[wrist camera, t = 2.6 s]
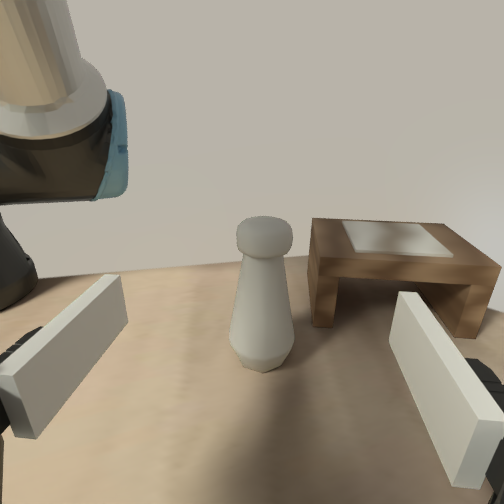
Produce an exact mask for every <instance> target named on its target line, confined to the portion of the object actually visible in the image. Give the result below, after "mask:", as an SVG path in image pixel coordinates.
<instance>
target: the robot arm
mask: <svg viewBox="0 0 504 504" xmlns="http://www.w3.org/2000/svg"><path fill="white" fill-rule="evenodd" d="M127 146H128V145H127V121H126V110H125V103H124V99H123V97H122V95H121V94H120V93H118V92H114V91H112V90H110V89H109V90H107V89H106V85H105V83H104V80H103V78H102V76H101V74H100V73H99V72H98V71H97V69H96V68H95V67H94V66H93V65H91V64H90V63H89V62H87V61H86V60H85V59H83V58H81V55H80V51H79V47H78V43H77V39H76V36H75V32H74V28H73V24H72V20H71V17H70V13H69V9H68V5H67V1H66V0H0V205H12V204H33V203H53V202H73V201H96V200H98V199H104V198H113V197H118V196H120V195H122V194H123V193H124V192H125V190H126V188H127V185H128V150H127ZM37 281H38V277H37V272H36V269H35V266H34V263H33V261H32V259H31V258H30V257H29V255H27V254H26V253H24V251H23V249H22V247H21V246H20V244H19V243H18V241H17V240H16V239H15V237H14V236H13V235H12V233H11V232H10V231H9V229H8V228H7V227H6V226H5V224H4V222H3V219H2V216H1V213H0V310H1V309H4V308H6V307H8V306H9V305H11V304H13V303H15V302H16V301H18V300H20V299H21V298H23V297H24V296H25V295H27V294H28V293H29V292H30V291H31V290H32V289H33V288H34V287H35V285H36V283H37ZM127 323H128V318H127V312H126V306H125V300H124V295H123V289H122V283H121V277H120V275H112V274H105V275H104V276H102V277H101V278H100V279H99V280H98V281H97V282H95V283H94V284H93V285H92V286H91V287H90V288H88V289H87V290H86V291H85V292H84V293H83V294H81V295H80V296H79V297H78V298H77V299H76V300H74V301H73V302H72V303H71V304H70V305H69V306H67V307H66V308H65V309H64V310H63V311H62V312H60V313H59V314H58V315H57V316H56V317H55V318H53V319H52V320H51V321H50V322H49V323H48V324H46V325H45V326H44V327H41V326H40V327H38V328H36V329H34V330H32V331H31V332H29V333H27V334H25V335H24V336H23V337H22V338H20V339H19V340H18V341H17V342H16V343H15V345H12V346H11V347H10V348H8V349H7V350H6V352H4V353H2V354H1V355H0V504H2V480H3V452H4V441H3V437H2V435H1V434H2V433H3V432H4V430H5V429H6V428H7V427H8V426H9V425H10V426H11V428H12V431H13V433H14V436H15V437H19V438H28V439H37V438H38V437H39V435H40V434H41V433H42V431H43V430H44V429H45V428H46V426H47V425H48V424H49V423H50V421H51V420H52V419H53V417H54V416H55V415H56V414H57V412H58V411H59V410H60V409H61V407H62V406H63V405H64V403H65V402H66V401H67V400H68V398H69V397H70V396H71V394H72V393H73V392H74V391H75V389H76V388H77V387H78V386H79V384H80V383H81V382H82V380H83V379H84V378H85V377H86V375H87V374H88V373H89V371H90V370H91V369H92V368H93V366H94V365H95V364H96V363H97V361H98V360H99V359H100V357H101V356H102V355H103V354H104V352H105V351H106V350H107V349H108V347H109V346H110V345H111V343H112V342H113V341H114V340H115V338H116V337H117V336H118V334H119V333H120V332H121V331H122V329H123V328H124V327H125V326H126V324H127ZM389 344H390V346H391V348H392V351H393V353H394V355H395V357H396V360H397V362H398V364H399V367H400V369H401V371H402V373H403V376H404V378H405V380H406V383H407V385H408V387H409V389H410V392H411V394H412V396H413V399H414V401H415V403H416V405H417V408H418V410H419V412H420V415H421V417H422V419H423V421H424V424H425V426H426V428H427V431H428V433H429V435H430V437H431V440H432V442H433V444H434V447H435V449H436V451H437V453H438V456H439V458H440V460H441V463H442V465H443V467H444V469H445V472H446V474H447V476H448V479H449V481H450V483H451V485H452V487H460V488H469V489H478V490H480V488H481V486H482V484H483V481H484V479H485V477H487V479H488V481H489V483H490V484H491V486H492V488H493V490H494V492H493V494H492V496H491V498H490V500H489V502H488V504H504V385H502V384H501V381H500V380H499V379H498V377H497V376H496V375H495V374H494V372H493V371H492V370H491V369H490V368H488V367H487V366H486V365H484V364H483V363H482V362H480V361H479V360H478V359H470V358H464V357H463V356H462V354H461V353H460V352H459V350H458V349H457V347H456V346H455V345H454V343H453V342H452V341H451V339H450V338H449V336H448V335H447V334H446V332H445V331H444V329H443V328H442V327H441V325H440V324H439V322H438V321H437V320H436V318H435V317H434V316H433V314H432V313H431V311H430V310H429V309H428V307H427V306H426V304H425V303H424V302H423V300H422V299H421V297H420V296H419V295H418V293H417V292H402V291H399V294H398V299H397V303H396V308H395V313H394V317H393V322H392V327H391V331H390V336H389Z"/></svg>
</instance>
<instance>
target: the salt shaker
mask: <svg viewBox="0 0 504 504" xmlns="http://www.w3.org/2000/svg"><path fill="white" fill-rule="evenodd" d="M292 240H293V235H292V228H291V226H290V225H289V224H288V223H287V222H286V221H284V220H282V219H280V218H275V217H269V216H258V217H251V218H248V219H245V220H244V221H242V222H241V223H240V224H239V225H238V228H237V246H238V249H239V251H241V252H242V253H243V259H242V265H241V270H240V276H239V281H238V287H237V292H236V297H235V303H234V308H233V314H232V319H231V324H230V330H229V340H230V345H231V346H232V348H233V349H234V351H235V352H236V354H237V355H238V357H239V359H240V361H241V363H242V365H243V367H245V368H248V369H251V370H255V371H258V372H261V373H264V372H267V371H269V370H272V369H274V368H276V367H279V366H281V364H282V363H283V361H284V360H285V358H286V357H287V355H288V354H289V352H290V350H291V348H292V345H293V343H294V340H295V335H294V328H293V322H292V315H291V309H290V303H289V296H288V289H287V281H286V273H285V266H284V258H283V255H285V254H287V253H288V251H289V250H290V248H291V246H292Z"/></svg>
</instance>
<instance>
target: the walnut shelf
mask: <svg viewBox="0 0 504 504" xmlns="http://www.w3.org/2000/svg"><path fill="white" fill-rule="evenodd" d="M501 268H502V267H501V266H500V265H498V264H497V263H496V262H494V261H493V260H492V259H490V258H489V257H488V256H486V255H485V254H484V253H482V252H481V251H480V250H478V249H477V248H476V247H474V246H473V245H471V244H470V243H469V242H467V241H466V240H465V239H463V238H462V237H461V236H459V235H458V234H457V233H455V232H454V231H453V230H451V229H450V228H448V227H447V226H446V225H444V224H438V223H415V222H414V223H413V222H392V221H370V220H369V221H368V220H348V219H326V218H312V228H311V238H310V249H309V260H308V270H307V276H308V285H309V295H310V304H311V314H312V323H313V327H326V328H332V327H333V320H334V313H335V305H336V298H337V291H338V284H339V277H350V278H366V279H383V280H399V281H414V282H415V284H416V285H417V286H418V288H419V289H420V291H421V292H422V293H423V295H424V296H425V297H426V299H427V300H428V302H429V303H430V304H431V306H432V307H433V309H434V310H435V311H436V313H437V314H438V315H439V317H440V318H441V320H442V321H443V322H444V324H445V325H446V326H447V328H448V329H449V331H450V332H451V333H452V335H453V336H454V337H458V338H471V339H476V336H477V333H478V330H479V328H480V325H481V322H482V319H483V317H484V314H485V311H486V309H487V306H488V303H489V300H490V297H491V295H492V292H493V289H494V287H495V284H496V281H497V278H498V276H499V273H500V270H501Z"/></svg>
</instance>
